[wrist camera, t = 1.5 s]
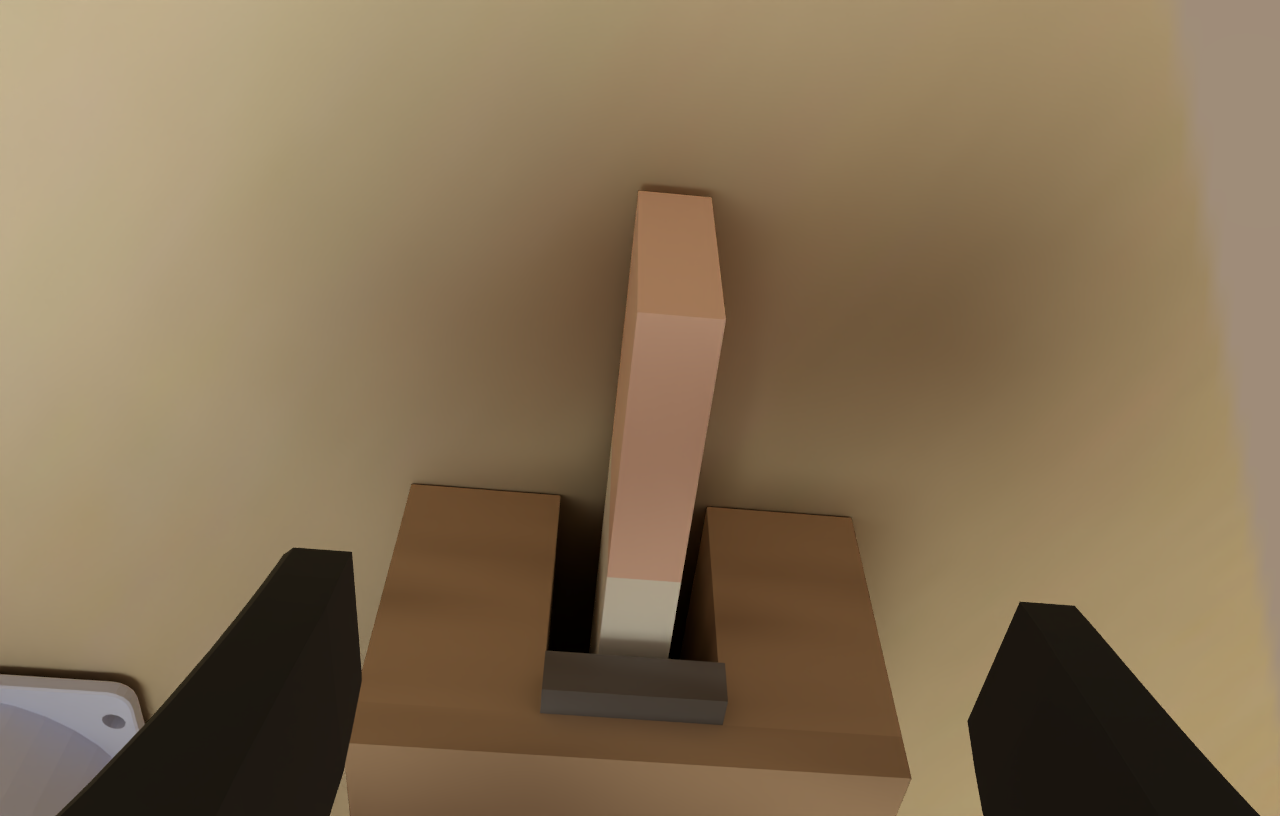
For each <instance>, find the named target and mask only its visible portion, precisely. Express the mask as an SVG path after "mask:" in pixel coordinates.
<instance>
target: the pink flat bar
mask: <svg viewBox="0 0 1280 816" xmlns="http://www.w3.org/2000/svg"><path fill="white" fill-rule="evenodd" d="M725 323H726V315H725V307H724V298H723V290H722V281H721V273H720V264H719V256H718V247H717V239H716V230H715V222H714V213H713V205H712V197H702V196H691V195H680V194H670V193H659V192H648V191H638V199H637V208H636V218H635V227H634V237H633V246H632V255H631V265H630V274H629V283H628V293H627V302H626V312H625V321H624V330H623V340H622V349H621V358H620V368H619V377H618V387H617V396H616V405H615V415H614V424H613V433H612V443H611V452H610V461H609V471H608V480H607V490H606V499H605V508H604V518H603V527H602V536H601V546H600V555H599V565H598V574H597V583H596V593H595V602H594V611H593V621H592V630H591V640H590V649H589V654H602V655H617V656H631V657H646V658H661V659H668V655H669V650H670V644H671V638H672V632H673V626H674V620H675V615H676V609H677V603H678V597H679V591H680V585H681V580H682V574H683V568H684V562H685V556H686V550H687V545H688V539H689V533H690V527H691V521H692V515H693V510H694V504H695V498H696V492H697V486H698V480H699V475H700V469H701V463H702V457H703V451H704V445H705V440H706V434H707V428H708V422H709V416H710V410H711V405H712V399H713V393H714V387H715V381H716V375H717V370H718V364H719V358H720V352H721V346H722V340H723V335H724V329H725Z"/></svg>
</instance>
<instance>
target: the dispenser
mask: <svg viewBox="0 0 1280 816" xmlns="http://www.w3.org/2000/svg"><path fill="white" fill-rule="evenodd" d="M559 509H560V495H547V494H534V493H521V492H508V491H494V490H481V489H468V488H455V487H442V486H429V485H416V484H411V488H410V492H409V496H408V500H407V503H406V507H405V511H404V515H403V518H402V522H401V526H400V530H399V533H398V537H397V541H396V545H395V548H394V552H393V556H392V560H391V563H390V567H389V571H388V575H387V578H386V582H385V586H384V590H383V593H382V597H381V601H380V605H379V609H378V612H377V616H376V620H375V624H374V627H373V631H372V635H371V639H370V642H369V646H368V650H367V654H366V657H365V661H364V665H363V669H362V683H361V688H360V693H359V698H358V703H357V708H356V713H355V719H354V724H353V729H352V734H351V738H350V743H349V748H348V753H347V757H346V762H345V770H346V780H347V790H348V800H349V810H350V816H896V815H897V813H898V810H899V808H900V806H901V803H902V801H903V798H904V796H905V793H906V791H907V788H908V786H909V784H910V781H911V774H910V770H909V766H908V761H907V757H906V753H905V748H904V744H903V740H902V735H901V731H900V727H899V722H898V718H897V714H896V709H895V705H894V701H893V696H892V692H891V688H890V683H889V679H888V675H887V670H886V666H885V662H884V657H883V653H882V649H881V644H880V640H879V636H878V631H877V627H876V623H875V618H874V614H873V610H872V605H871V601H870V596H869V592H868V588H867V583H866V579H865V575H864V570H863V566H862V562H861V557H860V553H859V549H858V544H857V540H856V536H855V531H854V527H853V523H852V518H846V517H833V516H820V515H807V514H794V513H781V512H768V511H755V510H742V509H729V508H716V507H707V510H706V515H705V521H704V526H703V532H702V537H701V543H700V548H699V554H698V560H697V565H696V571H695V576H694V582H693V587H692V593H691V598H690V604H689V609H688V615H687V620H686V626H685V631H684V637H683V642H682V648H681V654H680V659H679V660H675V659H661V658H646V657H631V656H617V655H602V654H588V653H573V652H558V651H549V643H550V630H551V616H552V603H553V589H554V576H555V562H556V549H557V535H558V522H559Z"/></svg>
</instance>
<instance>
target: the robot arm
mask: <svg viewBox="0 0 1280 816" xmlns="http://www.w3.org/2000/svg"><path fill="white" fill-rule="evenodd" d="M361 683H362V672H361V660H360V647H359V635H358V622H357V610H356V597H355V585H354V572H353V560H352V552H345V551H332V550H318V549H305V548H292V549H291V550H290V551H288V552H287V553H285V554H284V555H283V556H282V558H281V559H280V560H279V562H278V563H277V565H276V566H275V567H274V569H273V570H272V571H271V573H270V574H269V576H268V577H267V578H266V580H265V581H264V582H263V584H262V585H261V586H260V587H259V589H258V590H257V591H256V593H255V594H254V595H253V597H252V598H251V599H250V601H249V602H248V603H247V604H246V606H245V607H244V608H243V610H242V611H241V612H240V613H239V615H238V616H237V617H236V619H235V620H234V621H233V622H232V623H231V625H230V626H229V627H228V628H227V630H226V631H225V632H224V633H223V635H222V636H221V637H220V638H219V639H218V641H217V642H216V643H215V644H214V646H213V647H212V648H211V649H210V651H209V652H208V653H207V654H206V655H205V656H204V658H203V659H202V660H201V661H200V662H199V663H198V664H197V666H196V667H195V668H194V669H193V670H192V671H191V673H190V674H189V675H188V676H187V677H186V678H185V680H184V681H183V682H182V683H181V684H180V685H179V687H178V688H177V689H176V690H175V691H174V692H173V693H172V695H171V696H170V697H169V698H168V699H167V700H166V702H165V703H164V704H163V705H162V706H161V707H160V708H159V709H158V711H157V712H156V713H155V714H154V715H153V716H152V717H151V718H150V719H149V720H148V722H147V723H146V724H145V723H144V719H143V716H142V712H141V708H140V704H139V701H138V697H137V695H136V694H135V692H134V691H133V690H132V689H131V688H130V687H128V686H127V685H124V684H122V683H118V682H113V681H97V680H82V679H67V678H51V677H36V676H21V675H6V674H0V816H330V812H331V809H332V806H333V803H334V800H335V797H336V794H337V790H338V787H339V784H340V781H341V778H342V774H343V771H344V767H345V762H346V757H347V753H348V748H349V743H350V738H351V734H352V729H353V724H354V719H355V713H356V708H357V703H358V698H359V693H360V688H361ZM968 727H969V734H970V741H971V747H972V754H973V761H974V767H975V773H976V779H977V784H978V790H979V795H980V801H981V806H982V812H983V815H984V816H1260V815H1259V814H1258V813H1257V812H1256V811H1255V810H1254V809H1253V808H1252V807H1251V806H1250V805H1249V804H1248V802H1247V801H1246V800H1245V799H1244V798H1243V797H1242V796H1241V795H1240V794H1239V793H1238V792H1237V791H1236V790H1235V789H1234V788H1233V786H1232V785H1231V784H1230V783H1229V782H1228V781H1227V780H1226V779H1225V778H1224V777H1223V776H1222V774H1221V773H1220V772H1219V771H1218V770H1217V769H1216V768H1215V767H1214V766H1213V765H1212V763H1211V762H1210V761H1209V760H1208V759H1207V758H1206V757H1205V756H1204V754H1203V753H1202V752H1201V751H1200V750H1199V749H1198V748H1197V747H1196V746H1195V744H1194V743H1193V742H1192V741H1191V740H1190V739H1189V738H1188V737H1187V735H1186V734H1185V733H1184V732H1183V731H1182V730H1181V729H1180V727H1179V726H1178V725H1177V724H1176V723H1175V722H1174V721H1173V719H1172V718H1171V717H1170V716H1169V715H1168V714H1167V712H1166V711H1165V710H1164V709H1163V708H1162V707H1161V705H1160V704H1159V703H1158V702H1157V701H1156V700H1155V699H1154V697H1153V696H1152V695H1151V694H1150V693H1149V692H1148V690H1147V689H1146V688H1145V687H1144V686H1143V685H1142V683H1141V682H1140V681H1139V680H1138V679H1137V678H1136V676H1135V675H1134V674H1133V673H1132V672H1131V670H1130V669H1129V668H1128V667H1127V666H1126V665H1125V663H1124V662H1123V661H1122V660H1121V659H1120V658H1119V656H1118V655H1117V654H1116V653H1115V652H1114V650H1113V649H1112V648H1111V647H1110V646H1109V645H1108V643H1107V642H1106V641H1105V640H1104V639H1103V638H1102V636H1101V635H1100V634H1099V633H1098V632H1097V631H1096V629H1095V628H1094V627H1093V626H1092V625H1091V624H1090V623H1089V621H1088V620H1087V619H1086V618H1085V617H1084V616H1083V615H1082V614H1081V612H1080V611H1079V610H1078V609H1077V608H1076V607H1075V606H1070V605H1056V604H1043V603H1030V602H1020V603H1019V605H1018V607H1017V610H1016V612H1015V614H1014V617H1013V619H1012V621H1011V623H1010V626H1009V628H1008V630H1007V632H1006V635H1005V637H1004V639H1003V642H1002V644H1001V646H1000V648H999V651H998V653H997V655H996V657H995V660H994V662H993V664H992V667H991V669H990V671H989V673H988V676H987V678H986V680H985V682H984V685H983V687H982V689H981V692H980V694H979V696H978V698H977V701H976V703H975V705H974V708H973V710H972V712H971V714H970V717H969V719H968Z"/></svg>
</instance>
